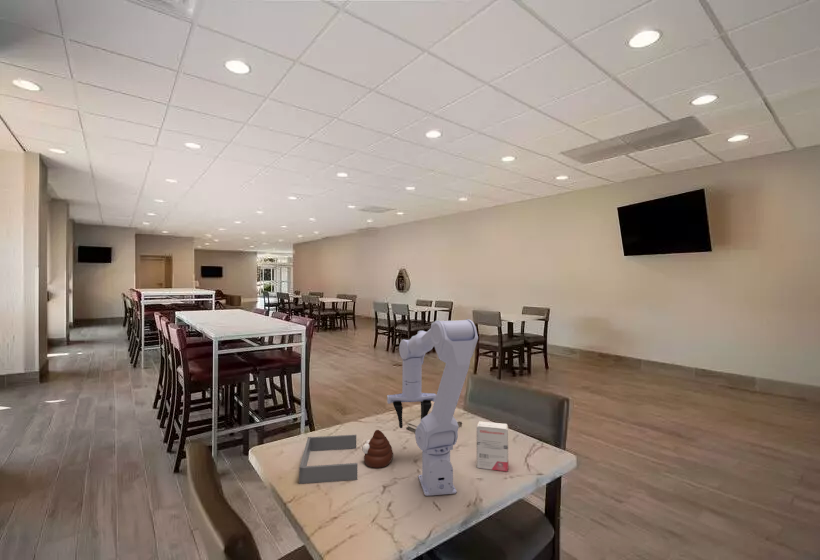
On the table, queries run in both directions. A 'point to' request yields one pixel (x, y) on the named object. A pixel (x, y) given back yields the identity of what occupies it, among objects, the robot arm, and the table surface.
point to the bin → (327, 471)
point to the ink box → (492, 446)
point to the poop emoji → (377, 451)
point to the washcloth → (414, 424)
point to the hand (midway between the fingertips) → (411, 426)
